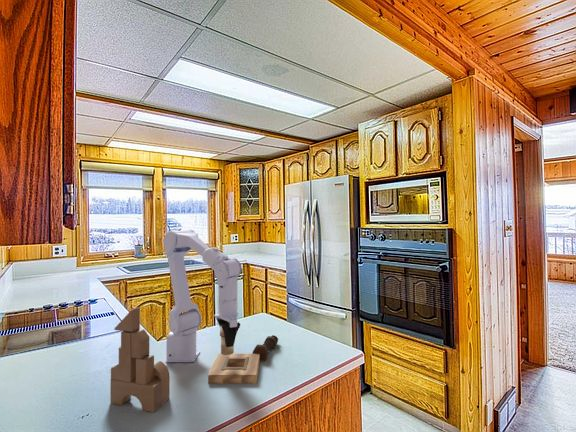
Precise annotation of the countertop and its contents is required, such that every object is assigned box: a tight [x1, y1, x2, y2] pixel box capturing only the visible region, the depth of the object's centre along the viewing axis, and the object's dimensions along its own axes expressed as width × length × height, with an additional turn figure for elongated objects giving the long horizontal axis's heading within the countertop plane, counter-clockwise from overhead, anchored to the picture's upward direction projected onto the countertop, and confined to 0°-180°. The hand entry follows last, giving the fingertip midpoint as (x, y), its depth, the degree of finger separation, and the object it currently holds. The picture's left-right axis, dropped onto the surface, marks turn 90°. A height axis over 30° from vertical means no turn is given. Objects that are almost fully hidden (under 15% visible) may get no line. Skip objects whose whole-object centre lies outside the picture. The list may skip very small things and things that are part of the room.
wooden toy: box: [109, 306, 171, 413], centre depth 83 cm, size 15×7×25 cm, turn 73°
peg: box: [219, 326, 235, 355], centre depth 95 cm, size 4×4×8 cm
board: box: [207, 353, 261, 384], centre depth 98 cm, size 14×14×3 cm
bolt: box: [251, 335, 279, 362], centre depth 112 cm, size 6×5×15 cm
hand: (227, 343), depth 95 cm, fingers closed on peg, 4 cm apart
